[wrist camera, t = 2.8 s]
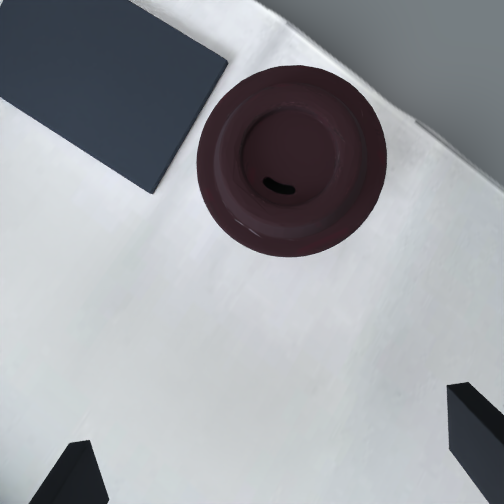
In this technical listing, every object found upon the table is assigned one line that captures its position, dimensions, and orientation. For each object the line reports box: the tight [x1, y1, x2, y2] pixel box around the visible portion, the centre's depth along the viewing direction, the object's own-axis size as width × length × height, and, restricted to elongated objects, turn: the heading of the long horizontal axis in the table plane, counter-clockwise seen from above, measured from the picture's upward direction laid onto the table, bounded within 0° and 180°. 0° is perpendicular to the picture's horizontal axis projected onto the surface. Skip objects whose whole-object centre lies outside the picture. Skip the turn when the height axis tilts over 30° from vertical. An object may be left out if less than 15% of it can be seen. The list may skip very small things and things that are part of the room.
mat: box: [0, 0, 228, 194], centre depth 31 cm, size 22×14×1 cm, turn 58°
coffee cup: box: [197, 65, 387, 257], centre depth 23 cm, size 10×10×15 cm
